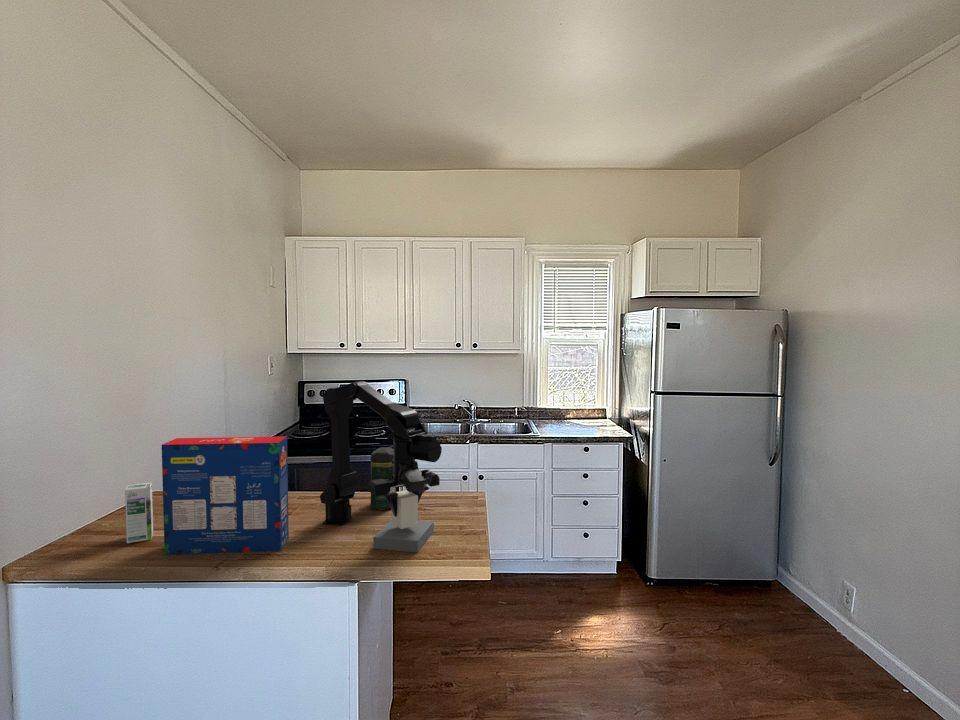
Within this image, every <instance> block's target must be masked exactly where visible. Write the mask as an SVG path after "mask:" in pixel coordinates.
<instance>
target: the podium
mask: <svg viewBox="0 0 960 720" xmlns="http://www.w3.org/2000/svg"><path fill="white" fill-rule="evenodd" d="M434 525H435V523H434V521H432V520H421V519H418V525H417V526H413V527H408V528H404V529H400V528H399V527H397V526H396V525H395V524H393V523H392V522H391V520H389V521H388V522H387V524H386V525H384V526H383V527H382V528H381V529H380V530H379V531H378V532H377V533H376V534H375V535H374V536H373V549H374V548H375V550H377V549H378V550H385V549H387V551H398V552H408V553H416V554H417V553H420V550H421V549H422V548H423V547H424V546H425V544H426V543H427V541H428V540H429V539H430V537H431V536H432V535H433V534H434V533H435V531H434Z"/></svg>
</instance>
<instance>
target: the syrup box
mask: <svg viewBox="0 0 960 720" xmlns="http://www.w3.org/2000/svg"><path fill="white" fill-rule="evenodd" d="M124 500H125V502H124V504H125V522H126V523H125V524H126V525H125V527H126V544H131V543H137V542H138V543H139V542H145V541H152V539H153V535H154V516H153V515H154V512H153V482H151V481H150V482H145V483H144V482H143V483H135V484H134V483H133V484H128V485H127V486H126V488H125V491H124Z"/></svg>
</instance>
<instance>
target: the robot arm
mask: <svg viewBox="0 0 960 720" xmlns="http://www.w3.org/2000/svg"><path fill="white" fill-rule="evenodd" d="M322 399H323V406H324V410H325V412H326V414H327V415H328V417H329V418H330V433H331V435H330V437H331V461H332V462H331V463H332V464H331V465H332V468H331V469H330V472H329V474H328V477H327V483H326V488H325V489H324V491H322V493H321V494H320V495H319V500H320V503H321V504H324V505H325V510H324V511H325V520H324V521H322V525H335V526H344V525H345V524H347V522H349V521H351V520H352V519H353V516H352V505H351V502H350V501H351V499H354V497H355V494H356V491H357V490H358V486H360V484H359V473H358V471H354V469H353V468H352V466H351V457H350V456H351V455H350V453H351V451H350V433H349V431H350V429H349V417H350V414H351V412H352V410H353V408H354V400H355V401H356V400H357V399H358V400H359V401H360V402H361V403H363V404H364V405H366V406H367V407H368V408H370V409H371V410H373V411H374V412H376V413H377V414H378V415H379V416H381V417H382V418H383V419H384V423H385V425H386V426H387V427H388V428H389V429H390V430H391V431H392V432H391V433H390V434H388V436H387V437H386V438H387V440H391V441H393V449H394V459H393V460H392V464H394V474H393V475H392V479H394V481H389V482H387V481H385V480H384V479H376V480H371V479H370V481H369V482H368V484H367V492H369V493H370V494H371V493H372V494H373V495H375V496H381V495H385V497H386V498H387V500H388V502H389V505H390V507H391V508H390V509H391V510H392V512H393V515H394V516H395V517H397V496H398V493H396V492H397V491H396V492H395V488H396V489H398V488H403V487H404V488H405V489H406V490H407V491H408V492H412V493H414V494H416V495H418V504H419V503H420V500H421V499H422V498H421V497H422V496H423V495H424V493H425V492H426V491H428V490H429V489H430V488H429V487H431V488H432V487H437V486H440V484H441V483H440V480H441V479H440V476H439V474H437V473H435V472H434V471H431V469H429V468H427V469H420V468H419V464H418V461H424V462H428V463H436V462H438V461H439V459H440V458H441V455H442V449H443V448H442V445H441V443H440V441H439V440H437V435H435V434H428V432H427V430H426V428H425V426H424V425H423V424H422V420H420V418H419V413H418V412H417V411H416V410H414V409H413V408H410V407H408V406H406V405H402V404H399V403H398V404H397V403H395V402H394V401H392V400H391V399H389V398H388V397H387V396H384V395H383V394H382V393H381V392H379V391H377V390H376V389H375V388H373V387H372V386H371V385H369V384H368V382H366V381H364V380H359V381H353V382H350V383H348V384H345V385H342V386H338V387H330V388H327V389H326V390H325V391H324V392H323V394H322ZM428 486H429V487H428Z"/></svg>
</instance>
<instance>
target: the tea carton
mask: <svg viewBox="0 0 960 720" xmlns="http://www.w3.org/2000/svg"><path fill="white" fill-rule="evenodd" d="M396 493H398V496H397V517H395V516H394V515H393V512H392V510H391V512H390V513H391V516H390V517H391V519H390V521H391V522H392V523H393V524H395V525H396V526H397V527H399V528H400V529H404V528H408V527H413V526H417V525H418V520H419V503H418V495H416V494H414V493H412V492H408V491H407V490H401V491H396Z"/></svg>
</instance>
